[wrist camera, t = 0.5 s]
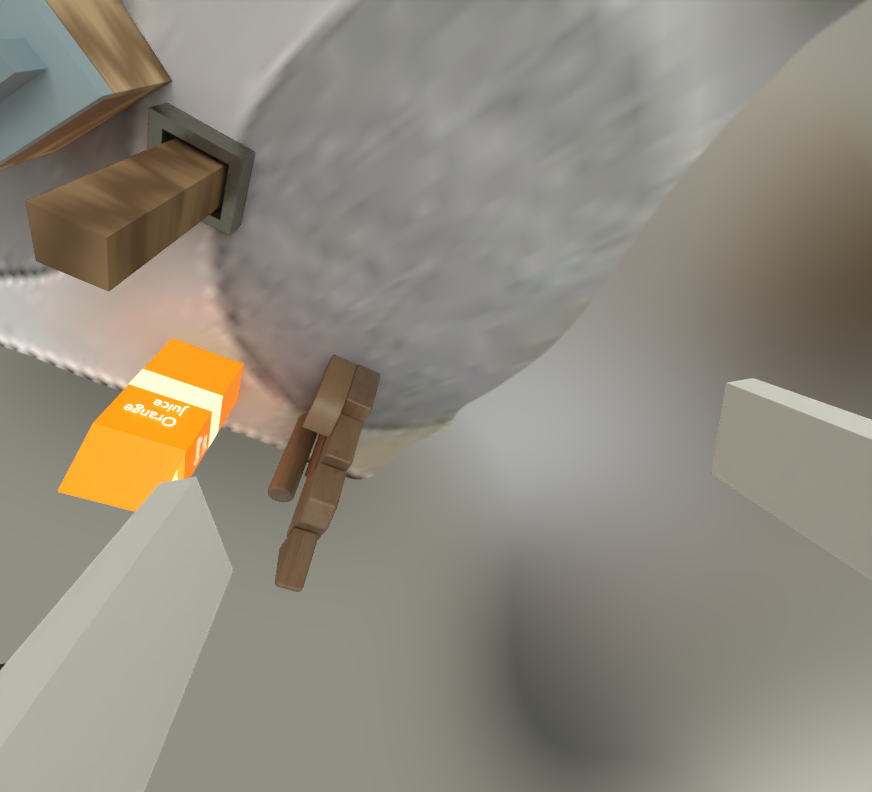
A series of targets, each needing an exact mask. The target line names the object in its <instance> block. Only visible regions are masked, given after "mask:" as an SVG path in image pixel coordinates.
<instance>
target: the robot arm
mask: <svg viewBox="0 0 872 792" xmlns="http://www.w3.org/2000/svg"><path fill="white" fill-rule="evenodd" d="M711 474H713V475H714V476H716V477H717V478H719V479H720V480H722V481H723V482H725V483H726V484H728V485H729V486H731V487H732V488H734V489H735V490H737V491H738V492H740V493H741V494H743V495H745V496H746V497H747V498H749V499H750V500H752V501H753V502H755V503H756V504H758V505H759V506H761V507H762V508H764V509H766V510H767V511H768V512H770V513H771V514H773V515H775V516H776V517H777V518H779V519H780V520H782V521H783V522H785V523H786V524H788V525H789V526H791V527H792V528H794V529H795V530H797V531H798V532H800V533H801V534H803V535H804V536H806V537H807V538H809V539H810V540H812V541H813V542H815V543H816V544H818V545H819V546H821V547H822V548H824V549H825V550H827V551H828V552H830V553H831V554H833V555H834V556H836V557H837V558H839V559H840V560H842V561H843V562H845V563H846V564H848V565H849V566H851V567H852V568H854V569H855V570H856V571H858V572H860V573H861V574H862V575H864V576H865V577H867V578H868V579H870V580H871V581H872V420H871V419H868V418H865V417H862V416H859V415H856V414H854V413H851V412H847V411H845V410H842V409H839V408H836V407H834V406H831V405H828V404H825V403H822V402H819V401H816V400H814V399H811V398H808V397H805V396H802V395H799V394H797V393H794V392H791V391H788V390H785V389H782V388H779V387H777V386H774V385H771V384H768V383H765V382H762V381H759V380H757V379H754V378H751V379H745V380H740V381H734V382H728V383H726V389H725V395H724V401H723V406H722V413H721V418H720V424H719V430H718V436H717V442H716V448H715V454H714V460H713V466H712V471H711ZM232 572H233V569H232V566H231V564H230V561H229V559H228V556H227V554H226V551H225V549H224V546H223V544H222V541H221V539H220V536H219V533H218V531H217V528H216V526H215V523H214V521H213V518H212V516H211V513H210V511H209V508H208V506H207V503H206V501H205V498H204V495H203V493H202V490H201V488H200V485H199V483H198V480H197V478H196V477H191V478H185V479H179V480H174V481H168V482H162V483H159V484H158V486H157V487H156V488H155V489H154V490H153V492H152V493H151V494H150V495H149V496H148V497H147V499H146V500H145V501H144V502H143V503H142V504H141V506H140V507H139V508H138V509H137V510H136V511H135V513H134V514H133V515H132V516H131V517H130V519H129V520H128V521H127V522H126V523H125V524H124V526H123V527H122V528H121V529H120V531H118V533H117V534H116V535H115V536H114V537H113V538H112V540H111V541H110V542H109V543H108V544H107V546H106V547H105V548H104V549H103V550H102V551H101V553H100V554H99V555H98V556H97V557H96V558H95V560H94V561H93V562H92V563H91V564H90V565H89V567H88V568H87V569H86V570H85V571H84V573H83V574H82V575H81V576H80V577H79V578H78V580H77V581H76V582H75V583H74V584H73V585H72V587H71V588H70V589H69V590H68V591H67V593H66V594H65V595H64V596H63V597H62V598H61V600H60V601H59V602H58V603H57V604H56V605H55V607H54V608H53V609H52V610H51V611H50V612H49V614H48V615H47V616H46V617H45V618H44V619H43V621H42V622H41V623H40V624H39V625H38V626H37V628H36V629H35V630H34V631H33V632H32V634H31V635H30V636H29V637H28V638H27V639H26V641H25V642H24V643H23V644H22V645H21V647H20V648H19V649H18V650H17V651H16V652H15V653H14V655H13V656H12V657H11V658H10V660H8V662H7V663H5V664H0V792H144V791H145V788H146V786H147V783H148V781H149V778H150V776H151V773H152V771H153V768H154V766H155V763H156V761H157V758H158V756H159V753H160V751H161V748H162V746H163V743H164V741H165V738H166V736H167V734H168V731H169V729H170V726H171V723H172V721H173V719H174V716H175V714H176V711H177V709H178V706H179V704H180V701H181V699H182V696H183V694H184V691H185V689H186V686H187V684H188V681H189V679H190V676H191V674H192V671H193V669H194V666H195V664H196V661H197V659H198V656H199V654H200V651H201V649H202V646H203V644H204V641H205V639H206V637H207V634H208V632H209V629H210V627H211V624H212V622H213V619H214V617H215V614H216V612H217V609H218V607H219V604H220V602H221V599H222V597H223V594H224V592H225V589H226V587H227V584H228V582H229V579H230V577H231V574H232Z"/></svg>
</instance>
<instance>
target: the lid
mask: <svg viewBox="0 0 872 792" xmlns="http://www.w3.org/2000/svg"><path fill="white" fill-rule="evenodd" d="M112 94H114V93H113V91H112V90H111V88H110V87H109V86H108V84H107V83H106V82H105V80H104V79H103V78H102V76H101V75H100V74H99V72H98V71H97V70H96V68H95V67H94V66H93V64H92V63H91V62H90V60H89V59H88V57H87V56H86V55H85V53H84V52H83V51H82V49H81V48H80V47H79V45H78V44H77V43H76V41H75V40H74V39H73V37H72V36H71V35H70V33H69V32H68V30H67V29H66V28H65V26H64V25H63V24H62V22H61V21H60V20H59V18H58V17H57V16H56V14H55V13H54V12H53V10H52V9H51V8H50V6H49V5H48V4H47V2H46V1H45V0H0V166H1V165H2V164H4V163H5V162H7V161H9V160H10V159H12V158H13V157H15V156H16V155H18V154H20V153H21V152H23V151H24V150H26V149H27V148H29V147H31V146H32V145H34V144H35V143H37V142H38V141H40V140H42V139H43V138H45V137H46V136H48V135H49V134H51V133H53V132H54V131H56V130H57V129H59V128H60V127H62V126H64V125H65V124H67V123H68V122H70V121H71V120H73V119H75V118H76V117H78V116H79V115H81V114H82V113H84V112H86V111H87V110H89V109H90V108H92V107H93V106H95V105H97V104H98V103H100V102H101V101H103V100H104V99H106V98H108V97H109V96H111V95H112Z"/></svg>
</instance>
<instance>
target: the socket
mask: <svg viewBox="0 0 872 792" xmlns="http://www.w3.org/2000/svg"><path fill="white" fill-rule="evenodd" d="M177 137H179V138H180V139H182V140H184V141H186V142H188V143H190V144H191V145H193V146H195V147H197V148H199V149H201V150H203V151H204V152H206V153H208V154H210V155H212V156H214V157H215V158H217V159H219V160H221V161H223V162H225V163H227V164H228V165H229V169H228V175H227V181H226V187H225V193H224V200H223V206H222V205H221V206H220V207H219V208H218V209H216V210H215V211H214V212H212V213H211V214H210V215H208V216H207V217H206V218H204V219H203V220H202V222H204V223H206V224H208V225H210V226H212V227H214V228H216V229H218V230H220V231H222V232H224V233H226V234H228V235H231V234H232V233H233V232H234V231H235V230H236V229H237V228H238V227H239V226H240V225H241V222H242V217H243V212H244V206H245V201H246V196H247V191H248V186H249V181H250V176H251V171H252V166H253V161H254V156H255V152H254V151H252V150H250V149H249V148H247V147H245V146H243V145H242V144H240V143H238V142H236V141H234V140H233V139H231V138H229V137H227V136H225V135H224V134H222V133H220V132H218V131H217V130H215V129H213V128H211V127H209V126H208V125H206V124H204V123H202V122H201V121H199V120H197V119H195V118H193V117H192V116H190V115H188V114H186V113H185V112H183V111H181V110H179V109H177V108H176V107H174V106H172V105H170V104H168V103H163V104H160V105H157V106H153V107H150V108H149V122H148V149H151V148H153V147H155V146H158V145H160V144H163V143H165V142H167V141H170V140H172V139H175V138H177Z"/></svg>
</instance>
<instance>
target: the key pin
mask: <svg viewBox="0 0 872 792" xmlns="http://www.w3.org/2000/svg"><path fill="white" fill-rule="evenodd" d="M228 169H229V165H228V164H227V163H225V162H223V161H221V160H219V159H217V158H215V157H214V156H212V155H210V154H208V153H206V152H204V151H203V150H201V149H199V148H197V147H195V146H193V145H191V144H190V143H188V142H186V141H184V140H182V139H180V138H179V137H177V138H175V139H172V140H170V141H167V142H165V143H163V144H160V145H158V146H155V147H153V148H151V149H148V150H146V151H144V152H141V153H139V154H136V155H134V156H132V157H129V158H127V159H124V160H122V161H120V162H117V163H115V164H112V165H110V166H108V167H105V168H103V169H101V170H98V171H96V172H93V173H91V174H89V175H86V176H84V177H81V178H79V179H77V180H74V181H72V182H69V183H67V184H65V185H62V186H60V187H58V188H55V189H53V190H50V191H48V192H46V193H43V194H41V195H38V196H36V197H34V198H31V199H29V200H26V206H27V212H28V218H29V223H30V229H31V235H32V241H33V246H34V252H35V258H36V261H37V262H40V263H42V264H44V265H47V266H49V267H52V268H54V269H56V270H59V271H61V272H64V273H66V274H68V275H71V276H73V277H76V278H78V279H80V280H83V281H85V282H87V283H90V284H92V285H95V286H97V287H99V288H102V289H104V290H107V291H110V290H111V289H113V288H114V287H115V286H117V285H118V284H119V283H120V282H122V281H123V280H124V279H126V278H127V277H128V276H130V275H131V274H132V273H134V272H135V271H136V270H138V269H139V268H140V267H141V266H143V265H144V264H145V263H147V262H148V261H149V260H151V259H152V258H153V257H155V256H156V255H157V254H159V253H160V252H161V251H162V250H164V249H165V248H166V247H168V246H169V245H170V244H172V243H173V242H174V241H176V240H177V239H178V238H179V237H181V236H182V235H183V234H185V233H186V232H187V231H189V230H190V229H191V228H193V227H194V226H195V225H197V224H198V223H199V222H200V221H202V220H203V219H204V218H206V217H207V216H208V215H210V214H211V213H212V212H214V211H215V210H216V209H218V208H219V207H220V206H221V205H223V200H224V193H225V187H226V181H227V175H228Z"/></svg>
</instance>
